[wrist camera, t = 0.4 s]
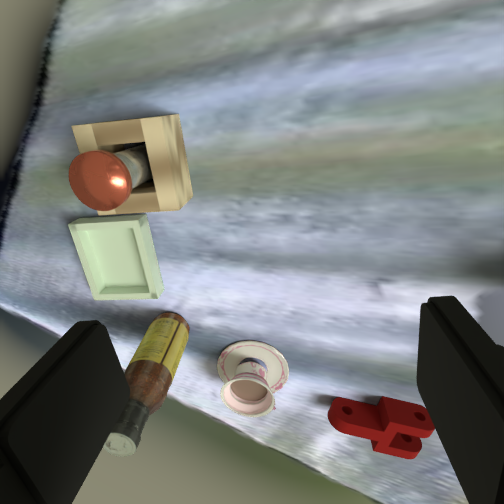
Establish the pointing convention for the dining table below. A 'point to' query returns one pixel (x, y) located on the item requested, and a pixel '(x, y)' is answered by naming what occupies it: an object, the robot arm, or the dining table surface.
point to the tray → (118, 257)
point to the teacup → (251, 377)
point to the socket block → (160, 157)
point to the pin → (108, 176)
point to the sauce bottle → (148, 380)
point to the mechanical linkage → (384, 424)
